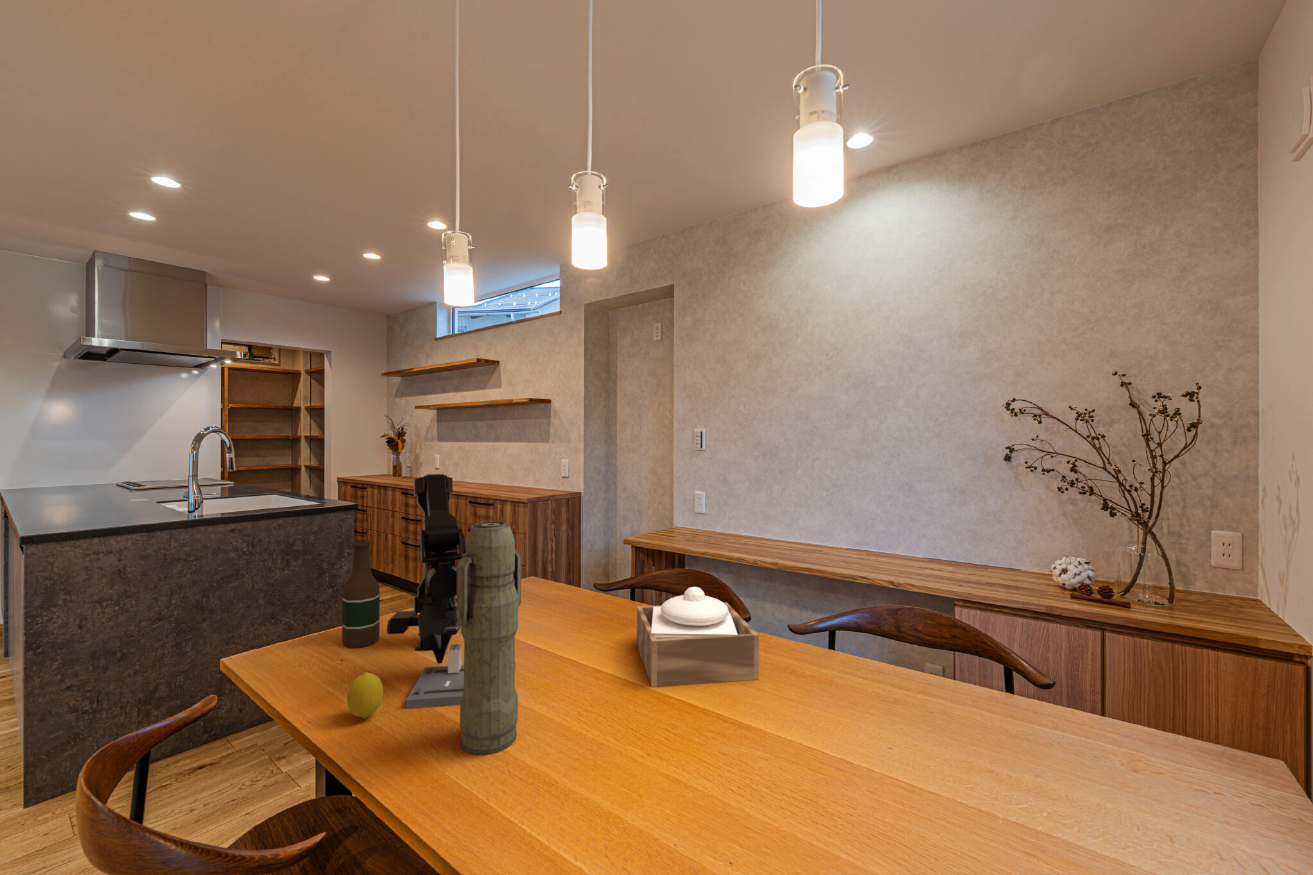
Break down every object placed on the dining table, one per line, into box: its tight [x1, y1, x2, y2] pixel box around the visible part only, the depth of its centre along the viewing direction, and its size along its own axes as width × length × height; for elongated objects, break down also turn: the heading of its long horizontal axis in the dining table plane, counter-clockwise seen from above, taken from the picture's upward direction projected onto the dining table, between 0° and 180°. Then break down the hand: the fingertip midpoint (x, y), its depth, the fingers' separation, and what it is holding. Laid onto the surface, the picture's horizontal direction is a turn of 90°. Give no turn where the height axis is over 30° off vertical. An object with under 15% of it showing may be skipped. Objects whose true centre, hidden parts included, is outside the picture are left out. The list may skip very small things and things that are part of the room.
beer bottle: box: [341, 539, 381, 649], centre depth 129 cm, size 8×8×24 cm
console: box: [405, 661, 517, 709], centre depth 107 cm, size 14×18×2 cm
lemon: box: [346, 671, 384, 720], centre depth 95 cm, size 6×6×8 cm
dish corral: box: [636, 602, 760, 688], centre depth 121 cm, size 22×22×9 cm
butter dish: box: [651, 586, 738, 639], centre depth 121 cm, size 18×18×16 cm
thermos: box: [456, 520, 522, 756], centre depth 89 cm, size 9×12×35 cm
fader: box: [447, 643, 463, 673], centre depth 111 cm, size 4×2×4 cm, turn 10°
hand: (440, 662), depth 111 cm, fingers closed
